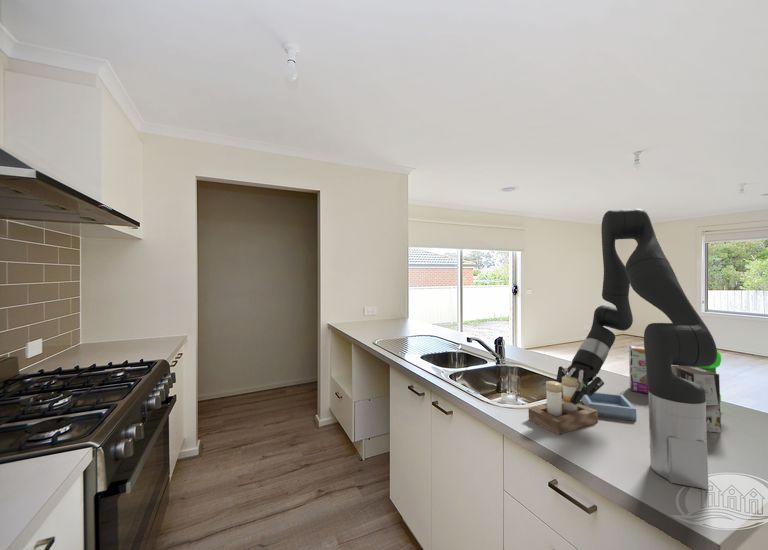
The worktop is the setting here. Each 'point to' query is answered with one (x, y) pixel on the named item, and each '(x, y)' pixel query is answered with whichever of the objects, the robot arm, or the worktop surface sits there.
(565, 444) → the worktop surface
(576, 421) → the fuse holder
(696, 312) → the robot arm
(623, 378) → the worktop surface
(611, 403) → the tray
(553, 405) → the cylinder
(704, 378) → the coffee box
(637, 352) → the candy bar box
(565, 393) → the cylinder
